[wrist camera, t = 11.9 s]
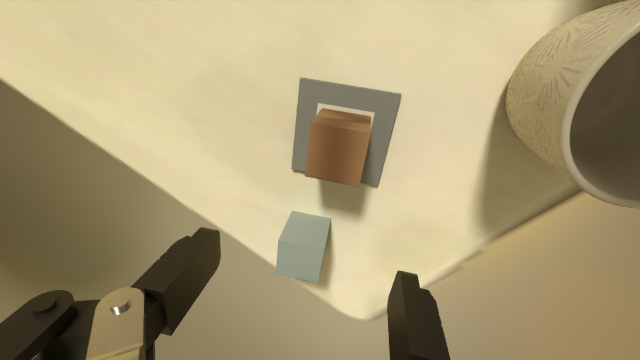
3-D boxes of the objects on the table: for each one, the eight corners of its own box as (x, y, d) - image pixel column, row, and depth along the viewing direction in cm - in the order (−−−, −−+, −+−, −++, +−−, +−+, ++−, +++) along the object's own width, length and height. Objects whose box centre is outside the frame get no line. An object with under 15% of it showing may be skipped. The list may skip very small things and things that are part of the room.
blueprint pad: (400, 93, 27) (401, 94, 27) (377, 183, 32) (377, 186, 31) (301, 77, 28) (299, 78, 28) (292, 167, 33) (291, 169, 32)
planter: (480, 152, 28) (537, 208, 19) (505, 11, 23) (602, -12, 13) (623, 150, 26) (772, 212, 17) (687, -7, 21) (959, -50, 11)
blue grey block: (331, 218, 35) (323, 249, 30) (325, 249, 37) (318, 283, 32) (292, 210, 35) (278, 239, 30) (289, 241, 38) (275, 274, 32)
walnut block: (370, 116, 28) (370, 133, 23) (360, 161, 30) (358, 186, 25) (322, 107, 28) (310, 122, 23) (316, 153, 31) (304, 176, 25)
